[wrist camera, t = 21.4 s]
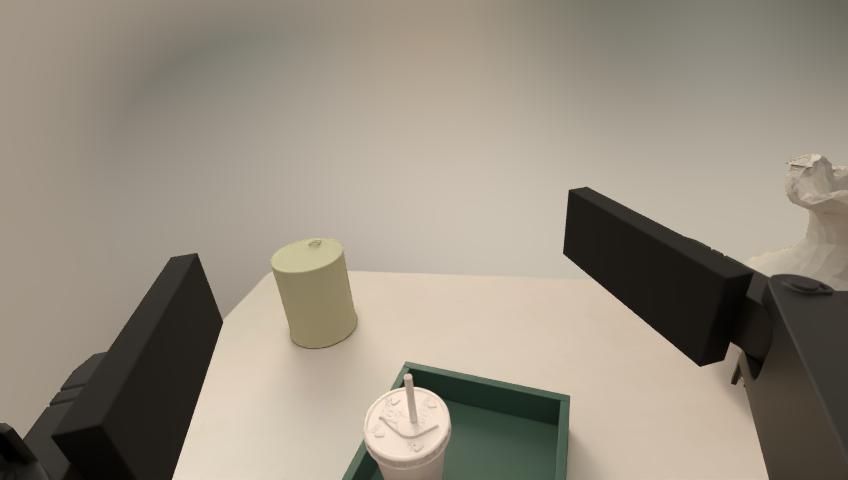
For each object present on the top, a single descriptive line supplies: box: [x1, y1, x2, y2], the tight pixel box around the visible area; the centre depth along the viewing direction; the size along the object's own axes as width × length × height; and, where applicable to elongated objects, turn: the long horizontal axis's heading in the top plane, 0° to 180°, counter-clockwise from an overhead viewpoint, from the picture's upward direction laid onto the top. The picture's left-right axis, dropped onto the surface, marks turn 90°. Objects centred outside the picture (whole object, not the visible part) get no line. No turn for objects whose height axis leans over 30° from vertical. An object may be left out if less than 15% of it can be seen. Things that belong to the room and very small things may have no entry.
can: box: [270, 238, 357, 348], centre depth 53 cm, size 9×9×12 cm
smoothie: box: [363, 374, 451, 480], centre depth 30 cm, size 6×6×14 cm
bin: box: [342, 362, 570, 480], centre depth 34 cm, size 17×17×4 cm
